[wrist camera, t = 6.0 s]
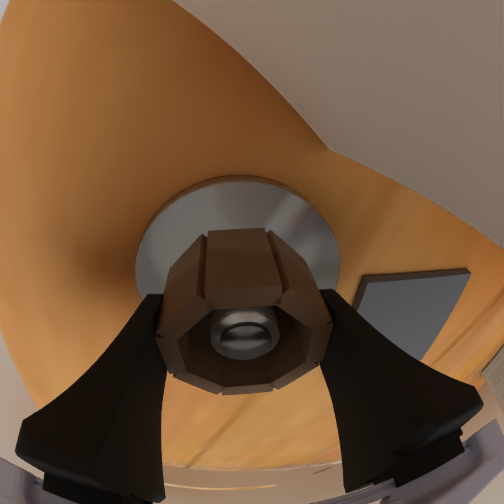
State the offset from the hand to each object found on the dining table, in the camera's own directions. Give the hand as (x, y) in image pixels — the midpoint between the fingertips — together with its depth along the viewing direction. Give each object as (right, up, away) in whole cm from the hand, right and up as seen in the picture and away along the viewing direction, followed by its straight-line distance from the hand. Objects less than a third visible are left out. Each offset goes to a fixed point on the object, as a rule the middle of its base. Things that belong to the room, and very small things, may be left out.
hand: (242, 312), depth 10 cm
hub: (0, +1, +2) cm, 3 cm away
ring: (0, +1, +1) cm, 2 cm away
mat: (+10, -3, +6) cm, 12 cm away
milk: (+4, +13, -5) cm, 15 cm away
